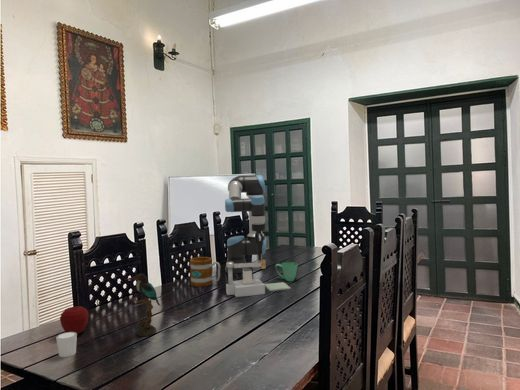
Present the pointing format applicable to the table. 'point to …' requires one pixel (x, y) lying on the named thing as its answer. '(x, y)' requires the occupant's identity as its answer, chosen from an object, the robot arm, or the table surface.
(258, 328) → the table surface
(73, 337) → the shot glass
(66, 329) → the apple
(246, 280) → the plug
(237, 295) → the socket
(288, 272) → the mug
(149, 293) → the sculpture
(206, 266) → the mug
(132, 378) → the table surface
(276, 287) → the mat
